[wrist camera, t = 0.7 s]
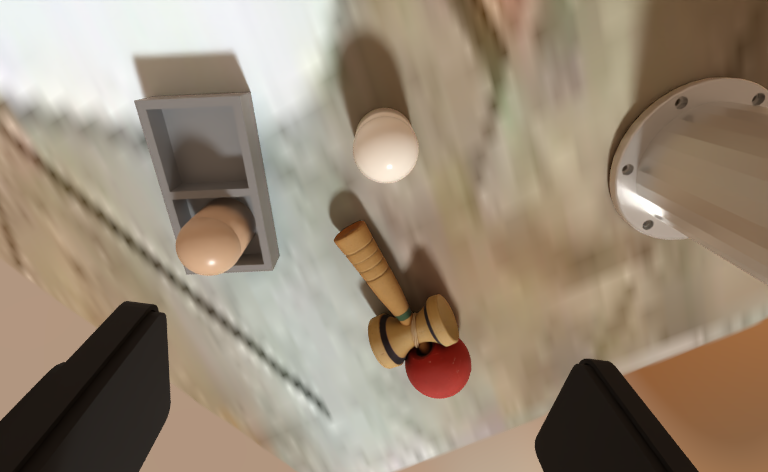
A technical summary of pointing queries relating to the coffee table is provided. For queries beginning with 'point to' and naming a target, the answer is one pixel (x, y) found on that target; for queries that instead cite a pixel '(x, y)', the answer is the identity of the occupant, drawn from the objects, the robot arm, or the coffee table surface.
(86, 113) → the coffee table surface
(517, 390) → the coffee table surface
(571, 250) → the coffee table surface
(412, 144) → the egg
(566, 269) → the coffee table surface
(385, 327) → the kendama
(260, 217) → the carton
